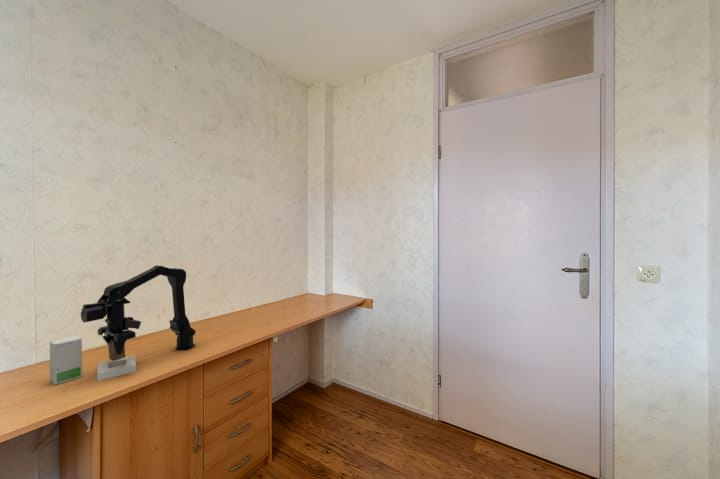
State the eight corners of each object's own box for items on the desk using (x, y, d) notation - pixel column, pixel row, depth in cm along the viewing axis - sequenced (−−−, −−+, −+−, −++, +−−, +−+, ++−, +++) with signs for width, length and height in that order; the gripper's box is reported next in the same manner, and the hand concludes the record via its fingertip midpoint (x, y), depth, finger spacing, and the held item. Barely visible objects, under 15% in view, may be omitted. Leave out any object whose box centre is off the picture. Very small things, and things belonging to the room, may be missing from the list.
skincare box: (54, 385, 113) (53, 344, 112) (49, 381, 116) (47, 341, 116) (83, 376, 120) (82, 337, 120) (78, 372, 124) (76, 334, 123)
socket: (135, 361, 133) (134, 355, 133) (136, 371, 124) (135, 364, 123) (99, 369, 126) (99, 362, 125) (97, 381, 116) (97, 373, 116)
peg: (125, 357, 125) (124, 340, 125) (113, 361, 122) (112, 343, 121) (120, 355, 127) (120, 339, 127) (109, 358, 124) (108, 342, 123)
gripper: (149, 314, 126) (150, 350, 127) (127, 308, 135) (128, 342, 136) (117, 321, 117) (118, 360, 117) (96, 314, 126) (97, 351, 126)
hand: (117, 353), depth 124 cm, fingers closed on peg, 4 cm apart
